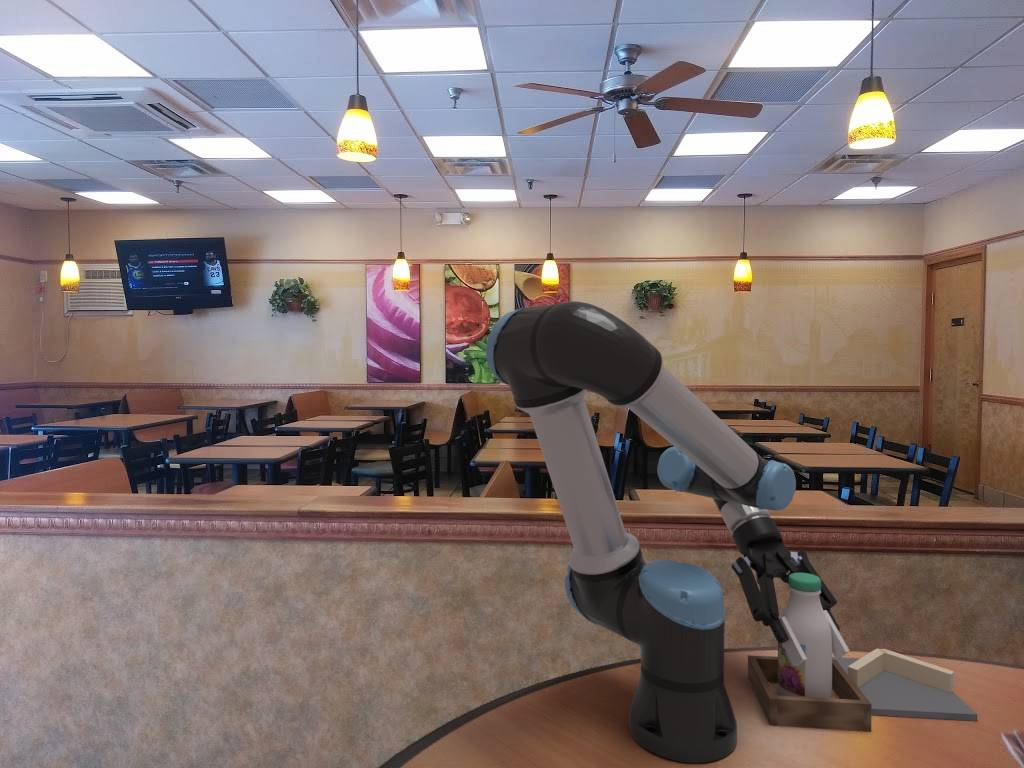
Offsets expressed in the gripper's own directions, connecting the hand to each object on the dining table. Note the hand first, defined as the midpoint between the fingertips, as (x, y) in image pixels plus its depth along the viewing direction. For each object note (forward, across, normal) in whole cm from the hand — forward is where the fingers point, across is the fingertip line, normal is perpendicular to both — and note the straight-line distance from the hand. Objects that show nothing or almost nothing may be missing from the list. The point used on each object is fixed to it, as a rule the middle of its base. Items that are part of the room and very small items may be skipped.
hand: (821, 658), depth 97 cm
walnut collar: (+4, 0, -8) cm, 9 cm away
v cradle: (+5, -17, -8) cm, 19 cm away
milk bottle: (+4, 0, -9) cm, 9 cm away
